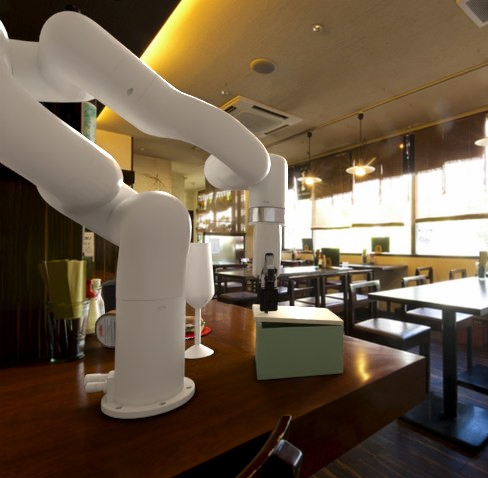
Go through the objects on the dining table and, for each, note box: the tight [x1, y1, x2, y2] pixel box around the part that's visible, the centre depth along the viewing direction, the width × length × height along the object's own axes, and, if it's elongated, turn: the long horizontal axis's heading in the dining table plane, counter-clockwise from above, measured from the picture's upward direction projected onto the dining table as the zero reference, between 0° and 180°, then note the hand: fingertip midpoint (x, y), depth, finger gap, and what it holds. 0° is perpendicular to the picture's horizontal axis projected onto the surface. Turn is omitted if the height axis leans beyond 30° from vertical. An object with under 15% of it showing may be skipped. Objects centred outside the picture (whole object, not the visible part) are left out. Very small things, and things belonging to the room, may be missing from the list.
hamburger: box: [185, 315, 212, 339], centre depth 88 cm, size 14×14×6 cm
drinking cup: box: [100, 277, 116, 314], centre depth 85 cm, size 8×8×20 cm
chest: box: [254, 321, 344, 381], centre depth 65 cm, size 16×13×9 cm
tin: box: [94, 310, 116, 349], centre depth 75 cm, size 15×3×8 cm, turn 84°
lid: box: [251, 303, 344, 326], centre depth 65 cm, size 16×13×5 cm
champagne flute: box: [185, 242, 215, 359], centre depth 72 cm, size 7×7×24 cm
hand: (266, 306), depth 64 cm, fingers open, 9 cm apart
